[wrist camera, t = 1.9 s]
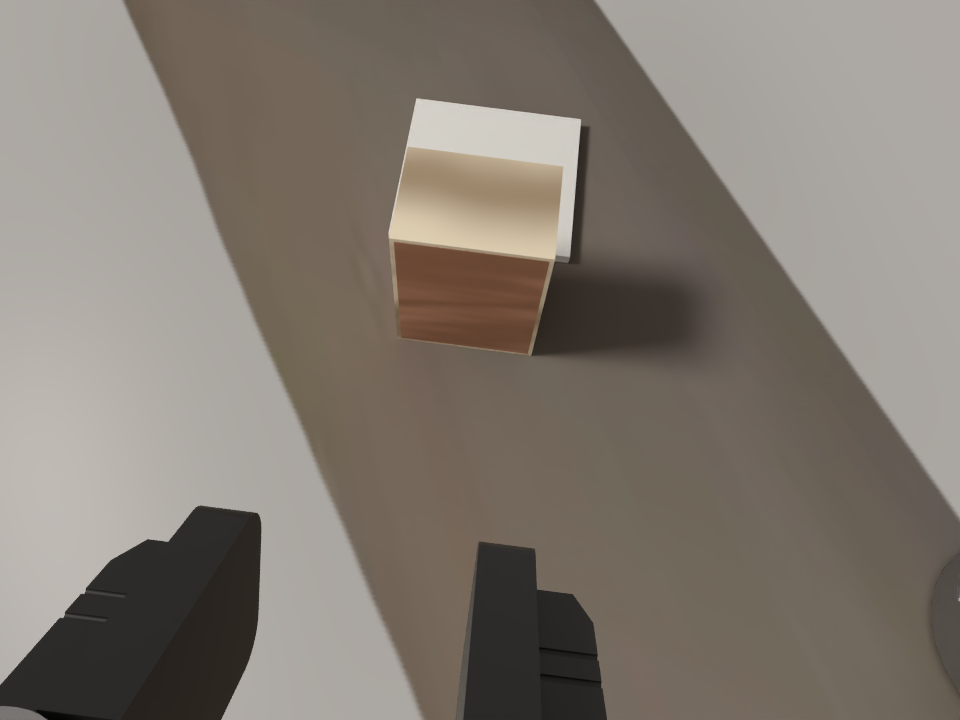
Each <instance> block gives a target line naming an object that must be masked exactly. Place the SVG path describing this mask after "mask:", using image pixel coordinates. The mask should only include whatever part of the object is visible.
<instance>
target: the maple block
mask: <svg viewBox="0 0 960 720" xmlns="http://www.w3.org/2000/svg"><path fill="white" fill-rule="evenodd" d="M562 176H563V166H556V165H548V164H540V163H532V162H525V161H517V160H509V159H501V158H493V157H486V156H478V155H470V154H462V153H454V152H447V151H439V150H431V149H423V148H415V147H408V148H407V153H406V158H405V162H404V167H403V172H402V177H401V182H400V187H399V192H398V196H397V201H396V206H395V211H394V216H393V221H392V225H391V230H390V235H389V245H390V257H391V268H392V279H393V291H394V302H395V313H396V324H397V336H398V339H405V340H413V341H421V342H429V343H436V344H444V345H452V346H460V347H467V348H475V349H483V350H491V351H498V352H506V353H514V354H522V355H529V356H531V355H532V351H533V347H534V342H535V338H536V334H537V330H538V326H539V322H540V318H541V314H542V310H543V306H544V302H545V298H546V294H547V290H548V286H549V282H550V278H551V274H552V270H553V266H554V262H555V254H556V243H557V232H558V221H559V209H560V198H561V187H562Z"/></svg>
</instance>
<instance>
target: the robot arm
mask: <svg viewBox="0 0 960 720" xmlns="http://www.w3.org/2000/svg"><path fill="white" fill-rule="evenodd" d="M260 553H261V520H260V517H259V515H258V513H253V512H245V511H238V510H230V509H222V508H214V507H206V506H198V507H196V508H195V509H194V510H193V511H192V513H191V514H190V515H189V516H188V518H187V519H186V520H185V521H184V523H183V524H182V525H181V527H180V528H179V529H178V530H177V532H176V533H175V534H174V535H173V537H172V538H171V539H170V540H169V542H164V541H156V540H149V539H148V540H146V541H144V542H142V543H140V544H139V545H137V546H135V547H133V548H132V549H130V550H128V551H126V552H125V553H123V554H121V555H119V556H118V557H116V558H114V559H112V560H111V561H110V562H109V563H108V564H107V565H106V566H105V567H104V569H103V570H102V571H101V572H100V573H99V574H98V575H97V577H95V579H94V580H93V581H92V582H91V583H90V584H89V586H88V587H87V588H86V592H85V594H80V596H79V597H78V598H77V599H76V600H75V601H74V602H73V604H72V605H71V606H70V607H69V608H68V609H67V610H66V612H65V616H64V618H60V619H58V620H57V622H56V623H55V624H54V625H53V626H52V627H51V628H50V630H49V631H48V632H47V633H46V634H45V635H44V637H42V639H41V640H40V641H39V642H38V643H37V644H36V645H35V646H34V648H33V649H32V650H31V651H30V652H29V653H28V654H27V656H26V657H25V658H24V659H23V660H22V661H21V662H20V663H19V665H18V666H17V667H16V668H15V669H14V670H13V672H12V673H11V674H10V675H9V676H8V677H7V678H6V679H5V680H4V682H3V683H2V684H1V685H0V720H221V719H222V717H223V715H224V712H225V710H226V708H227V706H228V704H229V702H230V700H231V698H232V696H233V694H234V692H235V689H236V687H237V685H238V683H239V681H240V679H241V677H242V675H243V673H244V671H245V669H246V666H247V664H248V661H249V658H250V655H251V652H252V648H253V645H254V640H255V636H256V630H257V623H258V610H259V582H260ZM932 628H933V633H934V638H935V643H936V648H937V650H938V653H939V655H940V658H941V660H942V663H943V665H944V668H945V670H946V672H947V674H948V675H949V677H950V678H951V680H952V682H953V683H954V685H955V687H956V688H957V690H958V692H959V693H960V553H959V554H957V555H956V556H955V557H954V558H953V559H952V560H951V561H950V563H949V564H948V565H947V566H946V567H945V568H944V570H943V572H942V574H941V576H940V578H939V580H938V582H937V584H936V587H935V592H934V596H933V600H932ZM597 656H598V654H597V646H596V639H595V632H594V625H593V622H592V621H591V619H590V618H589V617H588V615H587V614H586V612H585V611H584V610H583V608H582V607H581V605H580V604H579V603H578V601H577V600H576V598H575V597H574V596H573V594H566V593H559V592H551V591H543V590H537V582H536V555H535V549H533V548H525V547H517V546H510V545H502V544H494V543H487V542H479V543H478V549H477V555H476V562H475V570H474V577H473V584H472V592H471V599H470V606H469V614H468V621H467V628H466V636H465V643H464V651H463V659H462V667H461V675H460V684H459V693H458V703H457V713H456V720H607V717H606V710H605V703H604V696H603V689H602V688H601V675H600V668H599V661H597Z"/></svg>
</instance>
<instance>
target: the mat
mask: <svg viewBox="0 0 960 720" xmlns="http://www.w3.org/2000/svg"><path fill="white" fill-rule="evenodd" d="M580 126H581V119H574V118H566V117H558V116H550V115H542V114H534V113H527V112H519V111H511V110H503V109H495V108H487V107H479V106H471V105H464V104H456V103H448V102H440V101H432V100H424V99H416V103H415V108H414V113H413V118H412V123H411V128H410V132H409V137H408V142H407V147H406V152H405V156H404V161H403V166H402V171H401V176H400V181H399V185H398V190H397V195H396V200H395V205H394V210H393V214H392V219H391V224H390V229H389V235H390V230H391V225H392V221H393V216H394V211H395V206H396V201H397V196H398V192H399V187H400V182H401V177H402V172H403V167H404V162H405V158H406V153H407V148H408V147H415V148H423V149H431V150H439V151H447V152H454V153H462V154H470V155H478V156H486V157H493V158H501V159H509V160H517V161H525V162H532V163H540V164H548V165H556V166H563V176H562V187H561V198H560V209H559V221H558V232H557V243H556V254H555V261H556V262H564V263H568V262H569V259H570V250H571V238H572V225H573V213H574V200H575V188H576V176H577V163H578V151H579V138H580Z"/></svg>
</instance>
